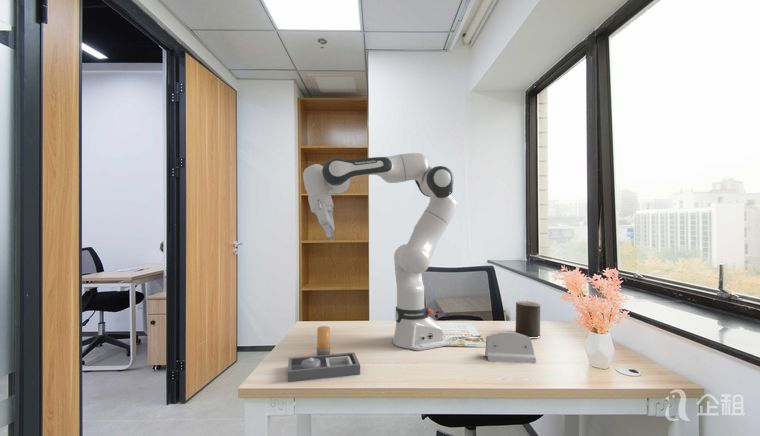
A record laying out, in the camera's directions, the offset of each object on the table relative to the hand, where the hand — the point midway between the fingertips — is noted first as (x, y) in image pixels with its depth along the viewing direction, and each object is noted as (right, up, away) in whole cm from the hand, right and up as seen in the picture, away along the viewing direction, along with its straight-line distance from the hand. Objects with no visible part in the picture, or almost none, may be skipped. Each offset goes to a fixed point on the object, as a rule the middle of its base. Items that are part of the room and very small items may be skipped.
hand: (330, 238), depth 131 cm
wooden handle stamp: (-2, -42, -7) cm, 42 cm away
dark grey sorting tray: (0, -41, -20) cm, 46 cm away
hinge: (+65, -42, -8) cm, 78 cm away
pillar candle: (+82, -43, +17) cm, 94 cm away
